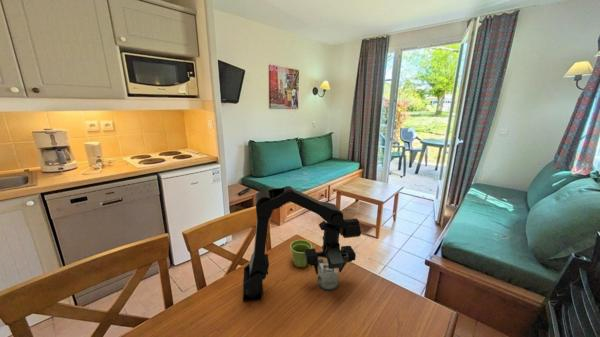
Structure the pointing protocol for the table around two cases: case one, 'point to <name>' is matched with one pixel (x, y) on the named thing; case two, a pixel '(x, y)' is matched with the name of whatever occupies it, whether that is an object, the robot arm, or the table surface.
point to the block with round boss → (327, 274)
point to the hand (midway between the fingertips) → (328, 273)
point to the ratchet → (327, 287)
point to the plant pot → (300, 252)
